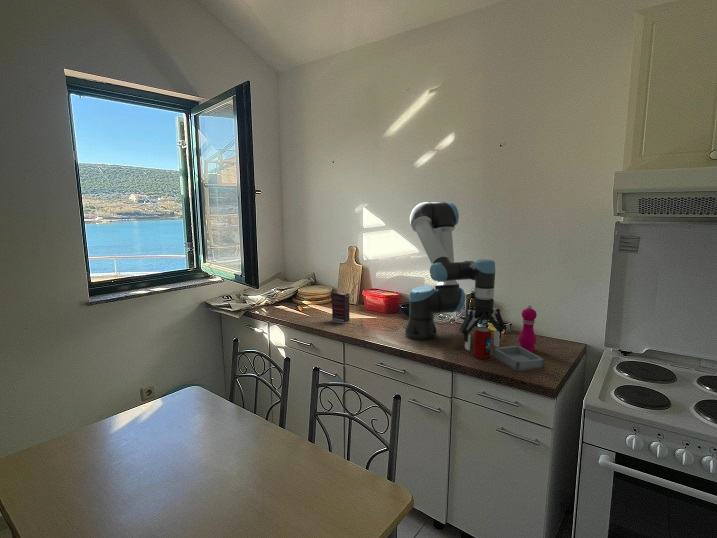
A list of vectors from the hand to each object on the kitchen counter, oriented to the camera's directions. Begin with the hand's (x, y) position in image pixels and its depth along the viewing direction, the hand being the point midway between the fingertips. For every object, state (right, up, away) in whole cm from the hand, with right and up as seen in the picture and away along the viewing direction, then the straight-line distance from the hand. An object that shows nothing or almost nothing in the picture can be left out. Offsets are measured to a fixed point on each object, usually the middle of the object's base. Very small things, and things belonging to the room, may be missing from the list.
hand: (481, 347), depth 169 cm
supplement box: (-61, +4, +50) cm, 79 cm away
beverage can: (0, -4, +1) cm, 4 cm away
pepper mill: (+22, -3, +9) cm, 24 cm away
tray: (+13, -5, -5) cm, 15 cm away
